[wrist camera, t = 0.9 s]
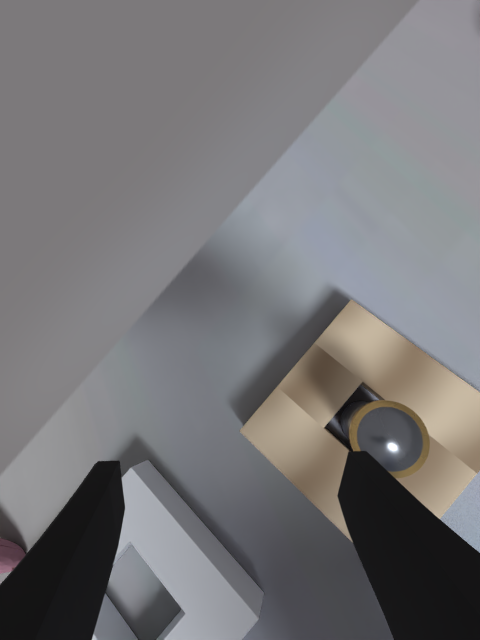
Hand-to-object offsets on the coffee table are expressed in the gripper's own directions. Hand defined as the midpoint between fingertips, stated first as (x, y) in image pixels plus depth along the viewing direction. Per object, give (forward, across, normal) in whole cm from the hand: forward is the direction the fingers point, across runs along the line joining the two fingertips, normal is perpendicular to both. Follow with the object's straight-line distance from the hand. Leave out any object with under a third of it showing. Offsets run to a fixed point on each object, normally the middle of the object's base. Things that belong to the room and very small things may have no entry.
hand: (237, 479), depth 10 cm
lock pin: (+9, -10, +6) cm, 15 cm away
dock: (+7, +5, +18) cm, 20 cm away
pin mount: (+9, -10, +6) cm, 15 cm away
